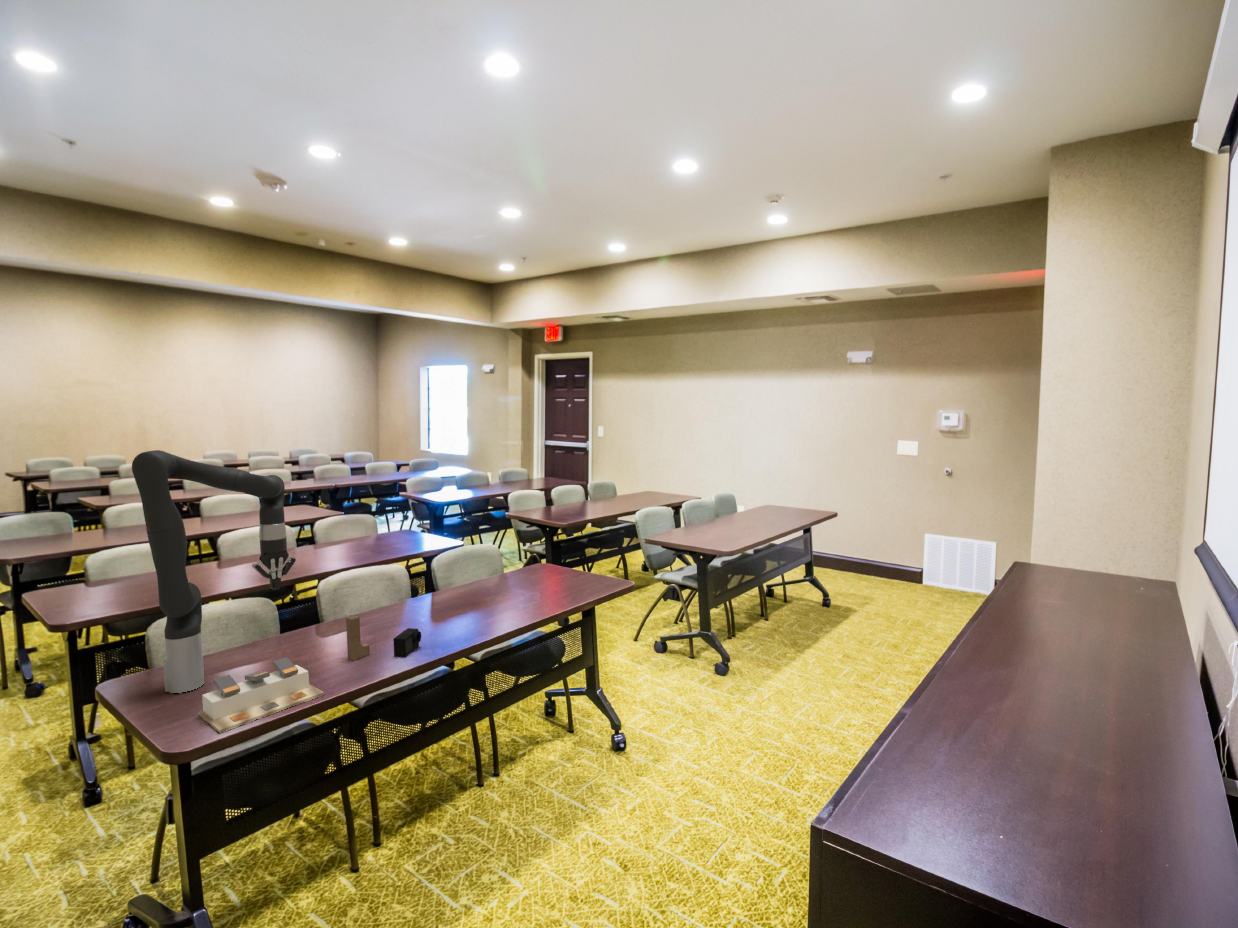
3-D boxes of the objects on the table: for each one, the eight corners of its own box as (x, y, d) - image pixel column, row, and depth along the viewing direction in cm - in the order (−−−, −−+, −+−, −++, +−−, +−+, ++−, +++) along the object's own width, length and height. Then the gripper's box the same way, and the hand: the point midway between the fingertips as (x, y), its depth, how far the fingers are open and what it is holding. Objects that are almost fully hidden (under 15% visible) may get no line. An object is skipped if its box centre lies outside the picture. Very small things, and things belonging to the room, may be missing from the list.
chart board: (219, 733, 161) (219, 729, 161) (198, 715, 171) (198, 711, 171) (324, 695, 183) (323, 691, 183) (300, 681, 193) (299, 677, 193)
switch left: (224, 696, 169) (224, 693, 168) (213, 682, 173) (213, 678, 173) (240, 691, 172) (240, 687, 171) (229, 677, 176) (229, 674, 176)
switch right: (284, 677, 181) (284, 673, 181) (272, 664, 186) (273, 660, 185) (297, 672, 184) (298, 669, 184) (286, 660, 189) (286, 656, 189)
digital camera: (408, 658, 211) (407, 638, 211) (393, 657, 212) (393, 638, 211) (422, 646, 221) (421, 628, 221) (408, 646, 222) (407, 627, 222)
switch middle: (255, 680, 175) (254, 676, 175) (245, 679, 179) (244, 675, 180) (270, 676, 178) (269, 671, 178) (259, 675, 183) (258, 670, 183)
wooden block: (352, 660, 209) (351, 619, 208) (347, 658, 211) (345, 617, 209) (369, 654, 214) (368, 613, 213) (364, 652, 216) (363, 612, 215)
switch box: (213, 719, 167) (212, 699, 166) (203, 711, 171) (201, 691, 171) (309, 686, 187) (308, 668, 186) (297, 679, 192) (296, 662, 191)
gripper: (255, 541, 187) (258, 596, 188) (299, 534, 197) (302, 586, 198) (245, 538, 191) (248, 591, 193) (289, 532, 202) (292, 582, 203)
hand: (275, 589), depth 195 cm, fingers closed
